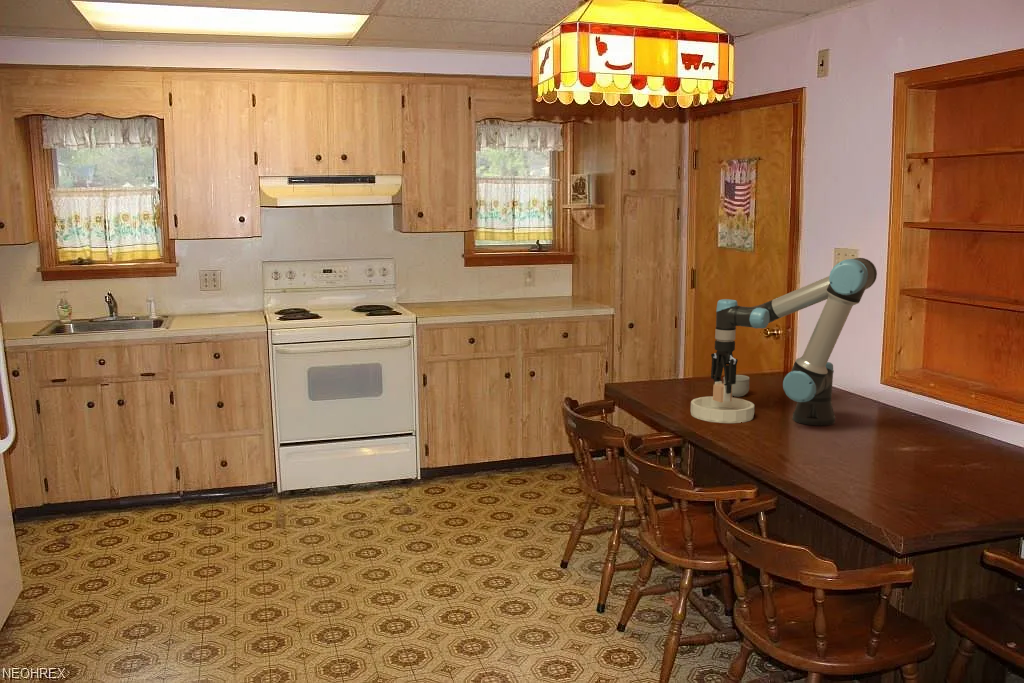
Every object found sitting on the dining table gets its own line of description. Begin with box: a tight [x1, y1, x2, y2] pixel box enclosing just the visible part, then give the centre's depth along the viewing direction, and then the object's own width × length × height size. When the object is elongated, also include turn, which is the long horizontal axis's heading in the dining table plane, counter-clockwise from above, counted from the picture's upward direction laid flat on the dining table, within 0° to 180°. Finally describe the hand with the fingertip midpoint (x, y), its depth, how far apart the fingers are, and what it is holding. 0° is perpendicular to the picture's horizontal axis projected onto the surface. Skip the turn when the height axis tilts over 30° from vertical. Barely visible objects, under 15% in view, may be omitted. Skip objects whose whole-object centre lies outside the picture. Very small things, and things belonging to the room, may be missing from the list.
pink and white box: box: [712, 382, 733, 402], centre depth 335 cm, size 5×5×6 cm
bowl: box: [690, 395, 755, 424], centre depth 336 cm, size 23×23×5 cm
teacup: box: [722, 374, 751, 398], centre depth 372 cm, size 14×11×8 cm
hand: (722, 399), depth 336 cm, fingers closed on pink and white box, 5 cm apart
